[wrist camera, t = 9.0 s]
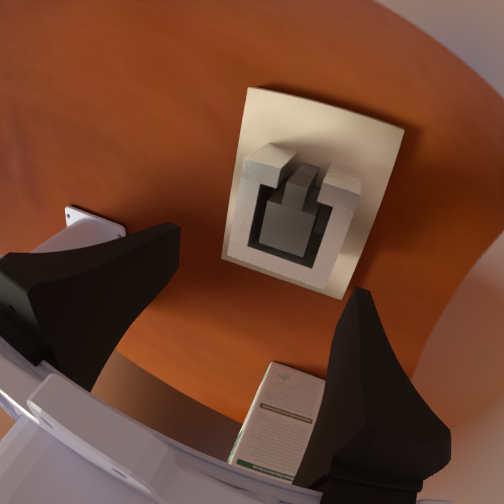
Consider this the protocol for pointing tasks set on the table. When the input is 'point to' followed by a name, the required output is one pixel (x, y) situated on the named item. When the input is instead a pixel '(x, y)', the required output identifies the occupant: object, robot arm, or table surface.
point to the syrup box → (279, 423)
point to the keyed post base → (314, 175)
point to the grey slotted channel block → (254, 206)
